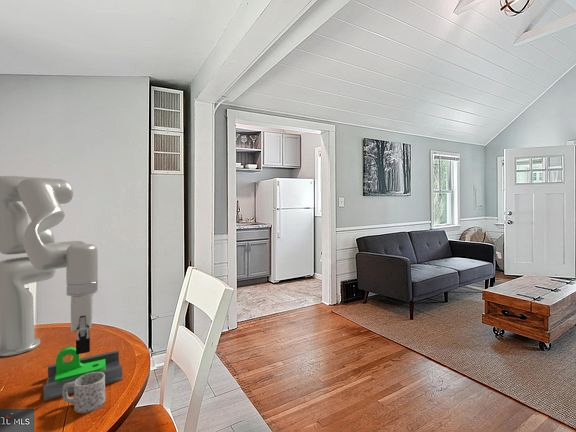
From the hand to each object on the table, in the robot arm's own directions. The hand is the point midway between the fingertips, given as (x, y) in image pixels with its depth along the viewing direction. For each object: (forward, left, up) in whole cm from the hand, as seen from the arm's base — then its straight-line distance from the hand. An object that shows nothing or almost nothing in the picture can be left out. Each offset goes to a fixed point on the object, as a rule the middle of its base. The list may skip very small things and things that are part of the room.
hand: (83, 345), depth 92 cm
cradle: (+1, 0, -10) cm, 10 cm away
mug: (+14, 0, -10) cm, 17 cm away
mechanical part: (0, 0, -9) cm, 9 cm away
